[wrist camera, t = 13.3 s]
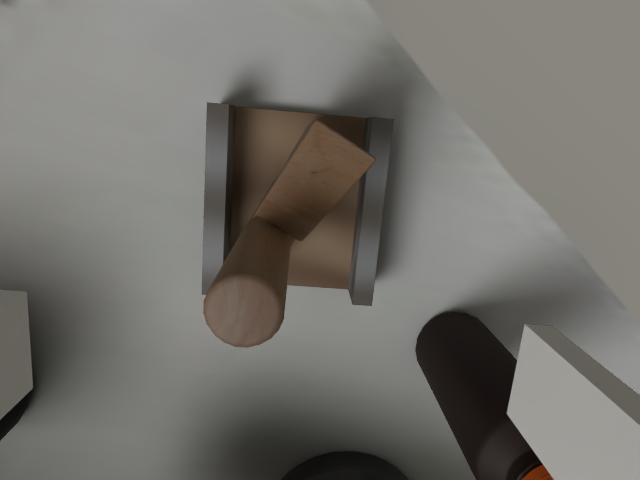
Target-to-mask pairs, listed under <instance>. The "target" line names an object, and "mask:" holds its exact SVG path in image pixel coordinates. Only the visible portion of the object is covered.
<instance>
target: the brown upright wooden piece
mask: <svg viewBox="0 0 640 480" xmlns="http://www.w3.org/2000/svg"><path fill="white" fill-rule="evenodd" d="M375 161H376V158H375V157H374V156H373V155H371V154H370V153H368V152H367V151H365V150H364V149H362V148H361V147H359V146H358V145H356V144H355V143H353V142H352V141H350V140H349V139H347V138H346V137H344V136H343V135H341V134H340V133H338V132H337V131H335V130H334V129H332V128H331V127H329V126H328V125H326V124H325V123H323V122H322V121H320V120H317V119H316V120H314V121H313V122H311V123H310V124H309V125H308V126H307V128H306V129H305V131H304V133H303V134H302V136H301V138H300V139H299V141H298V142H297V144H296V146H295V147H294V149H293V151H292V152H291V154H290V155H289V157H288V159H287V161H286V164H285V166H284V168H283V169H282V171H281V172H280V174H279V176H278V177H277V179H276V180H275V181H274V182H273V183H272V185H271V186H270V188H269V189H268V191H267V193H266V194H265V196H264V197H263V199H262V201H261V202H260V204H259V206H258V207H257V209H256V210H255V212H254V214H253V215H252V217H251V218H250V220H249V222H248V223H247V224H246V226H245V227H244V229H243V231H242V232H241V234H240V236H239V238H238V239H237V241H236V243H235V245H234V246H233V248H232V250H231V251H230V253H229V255H228V257H227V258H226V260H225V262H224V264H223V265H222V267H221V269H220V271H219V272H218V274H217V276H216V277H215V279H214V281H213V283H212V284H211V286H210V288H209V290H208V292H207V295H206V297H205V299H204V312H203V313H204V316H205V319H206V323H207V325H208V326H209V328H210V329H211V331H212V332H213V334H214V335H215V336H216V337H218V338H219V339H220V340H222V341H223V342H225V343H227V344H230V345H232V346H235V347H251V346H256V345H260V344H262V343H263V342H265V341H267V340H269V339H271V338H272V337H273V335H274V334H275V333H276V332H277V331H278V330H279V328H280V326H281V324H282V322H283V319H284V311H285V301H286V290H287V280H288V269H289V259H290V248H291V245H292V244H293V242H294V241H295V239H297V240H299V241H303V240H304V239H305V238H306V237H307V236H308V235H309V234H310V232H311V231H312V230H313V229H314V228H315V227H316V226H317V225H318V224H319V223H320V221H321V220H322V219H323V218H324V217H325V216H326V215H327V214H328V213H329V212H330V211H331V209H332V208H333V207H334V206H335V205H336V204H337V203H338V202H339V201H340V200H341V199H342V197H343V196H344V195H345V194H346V193H347V192H348V191H349V190H350V189H351V188H352V186H353V185H354V184H355V183H356V182H357V181H358V180H359V179H360V178H361V177H362V176H363V174H364V173H365V172H366V171H367V170H368V169H369V168H370V167H371V166H372V165H373V164H374V162H375Z"/></svg>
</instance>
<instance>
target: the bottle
mask: <svg viewBox="0 0 640 480" xmlns="http://www.w3.org/2000/svg"><path fill="white" fill-rule="evenodd" d="M416 356H417V361H418V363H419V365H420V367H421V369H422V371H423V373H424V375H425V377H426V379H427V381H428V383H429V385H430V387H431V389H432V391H433V393H434V395H435V397H436V399H437V401H438V403H439V405H440V407H441V409H442V411H443V413H444V415H445V418H446V420H447V422H448V424H449V426H450V428H451V430H452V432H453V434H454V436H455V438H456V440H457V442H458V444H459V446H460V448H461V450H462V452H463V454H464V456H465V458H466V460H467V462H468V464H469V466H470V468H471V470H472V472H473V474H474V476H475V478H476V480H554V479H553V478H552V476H551V475H550V473H549V472H548V471H547V469H546V468H545V466H544V465H543V464H542V462H541V461H540V459H539V458H538V457H537V455H536V454H535V452H534V451H533V450H532V448H531V447H530V445H529V444H528V443H527V441H526V440H525V439H524V437H523V436H522V434H521V433H520V432H519V430H518V429H517V427H516V426H515V425H514V423H513V422H512V420H511V419H510V418H509V416H508V415H507V409H508V404H509V399H510V395H511V390H512V385H513V380H514V375H515V370H516V365H517V360H516V359H515V358H514V357H513V355H512V354H511V353H510V352H509V351H508V350H507V349H506V348H505V347H504V346H503V345H502V344H501V342H500V341H499V340H498V339H497V338H496V337H495V336H494V335H493V334H492V333H491V332H490V331H489V329H488V328H487V327H486V326H485V325H484V324H483V323H482V322H481V321H479V320H478V319H477V318H476V317H473V316H471V315H469V314H467V313H460V312H450V313H445V314H441V315H439V316H437V317H436V318H434V319H432V320H431V321H429V322H428V323H427V324H426V325H425V326H424V327H423V329H422V331H421V332H420V334H419V336H418V338H417V344H416Z"/></svg>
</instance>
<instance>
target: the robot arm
mask: <svg viewBox="0 0 640 480" xmlns="http://www.w3.org/2000/svg"><path fill="white" fill-rule="evenodd" d="M32 389H33V378H32V362H31V347H30V332H29V316H28V301H27V291H11V290H0V420H1V419H2V418H3V417H4V416H5V415H6V414H7V413H8V412H9V411H10V410H11V409H12V408H13V407H14V406H15V405H16V404H17V403H18V402H19V401H20V400H21V399H22V398H23V397H24V396H25V395H26V394H27V393H28V392H30V391H31V390H32ZM507 415H508V416H509V418H510V419H511V420H512V422H513V423H514V425H515V426H516V427H517V429H518V430H519V432H520V433H521V434H522V436H523V437H524V439H525V440H526V441H527V443H528V444H529V445H530V447H531V448H532V450H533V451H534V452H535V454H536V455H537V457H538V458H539V459H540V461H541V462H542V464H543V465H544V466H545V468H546V469H547V471H548V472H549V473H550V475H551V476H552V478H553V479H554V480H640V395H639V394H637V393H636V392H635V391H634V390H632V389H631V388H630V387H628V386H627V385H626V384H625V383H623V382H622V381H621V380H620V379H618V378H617V377H616V376H615V375H613V374H612V373H611V372H610V371H608V370H607V369H606V368H604V367H603V366H602V365H601V364H599V363H598V362H597V361H596V360H594V359H593V358H592V357H591V356H589V355H588V354H587V353H586V352H584V351H583V350H582V349H580V348H579V347H578V346H577V345H575V344H574V343H573V342H572V341H570V340H569V339H568V338H567V337H565V336H564V335H563V334H562V333H560V332H559V331H558V330H557V329H555V328H554V327H553V326H546V325H531V324H525V325H524V330H523V335H522V340H521V345H520V350H519V355H518V360H517V365H516V370H515V375H514V380H513V385H512V390H511V395H510V399H509V404H508V409H507ZM282 480H408V479H407V478H406V476H405V475H404V474H403V473H402V472H401V471H399V470H398V469H397V468H396V467H394V466H393V465H391V464H390V463H388V462H386V461H384V460H382V459H380V458H377V457H374V456H371V455H367V454H363V453H355V452H338V453H331V454H326V455H322V456H319V457H316V458H313V459H311V460H308V461H306V462H304V463H303V464H301V465H299V466H298V467H296V468H295V469H293V470H292V471H291V472H290V473H288V474H287V475H286V476H285V477H284V478H283V479H282Z"/></svg>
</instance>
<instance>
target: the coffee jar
mask: <svg viewBox="0 0 640 480" xmlns="http://www.w3.org/2000/svg"><path fill="white" fill-rule="evenodd" d="M28 395H29V392H28V393H27V394H26V395H25V396H24V397H23V398H22V399H21V400H20V401H19V402H18V403H17V404H16V405H15V406H14V407H13V408H12V409H11V410H10V411H9V412H8V413H7V414H6V415H5V416H4V417H3V418H2V419H1V420H0V440H1V439H2V438H3V437H4V436H5V435H6V434H7V433H8V432H9V431H10V430H11V429H12V428H13V427H14V426H15V425H16V424H17V423H18V421H19V420H20V418H21V416H22V414H23V413H24V411H25V409H26V407H27V402H28Z"/></svg>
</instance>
